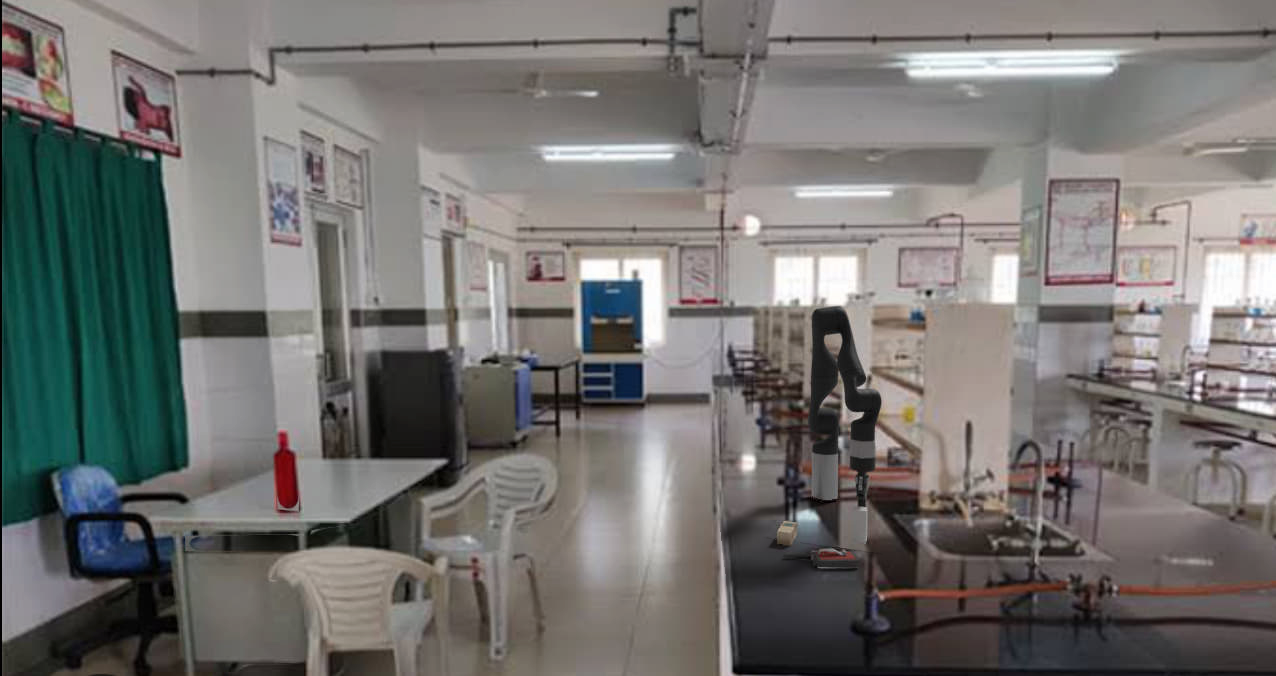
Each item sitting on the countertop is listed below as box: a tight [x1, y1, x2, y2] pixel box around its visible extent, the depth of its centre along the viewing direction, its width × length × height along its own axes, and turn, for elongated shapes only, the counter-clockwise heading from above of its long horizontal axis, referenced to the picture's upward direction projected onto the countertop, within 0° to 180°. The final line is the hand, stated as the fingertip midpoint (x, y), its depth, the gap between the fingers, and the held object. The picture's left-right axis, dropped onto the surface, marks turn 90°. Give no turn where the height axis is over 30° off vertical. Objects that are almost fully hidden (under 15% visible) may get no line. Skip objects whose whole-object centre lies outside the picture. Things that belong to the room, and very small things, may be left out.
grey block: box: [851, 505, 868, 544], centre depth 195 cm, size 4×4×10 cm
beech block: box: [776, 520, 798, 546], centre depth 197 cm, size 4×4×10 cm
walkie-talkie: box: [783, 548, 860, 568], centre depth 179 cm, size 9×4×20 cm
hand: (861, 510), depth 200 cm, fingers closed
